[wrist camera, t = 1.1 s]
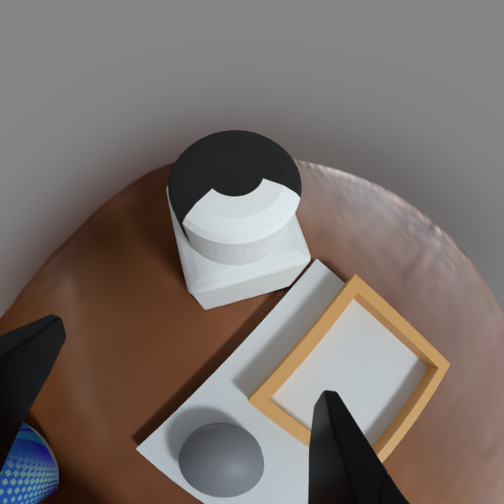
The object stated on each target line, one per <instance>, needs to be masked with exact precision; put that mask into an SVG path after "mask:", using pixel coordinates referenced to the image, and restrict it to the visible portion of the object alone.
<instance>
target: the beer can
mask: <svg viewBox="0 0 504 504" xmlns="http://www.w3.org/2000/svg"><path fill="white" fill-rule="evenodd" d="M58 475H59V469H58V463H57V460H56V457H55V455H54V453H53V451H52V449H51V447H50V446H49V444H48V443H47V442H46V440H45V439H44V438H43V437H42V436H41V435H40V434H39V433H38V432H37V431H36V430H35V429H33V428H32V427H30V426H28V425H27V424H25V423H24V422H23V424H22V426H21V428H20V430H19V432H18V434H17V436H16V438H15V441H14V443H13V445H12V447H11V449H10V452H9V454H8V456H7V459H6V461H5V463H4V466H3V468H2V471H1V473H0V504H38V503H39V502H41V501H42V500H44V499H45V498H47V497H49V496H50V495H52V494H53V493H54V492H55V491H56V490H57V487H58V483H59V476H58Z"/></svg>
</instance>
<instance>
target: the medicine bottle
mask: <svg viewBox="0 0 504 504" xmlns="http://www.w3.org/2000/svg"><path fill="white" fill-rule="evenodd" d="M167 197H168V202H169V207H170V212H171V217H172V222H173V227H174V232H175V237H176V242H177V246H178V251H179V255H180V260H181V264H182V268H183V273H184V277H185V281H186V285H187V289H188V291H189V293H190V294H191V295H192V297H193V298H194V299H195V300H196V301H197V302H198V303H199V305H200V306H201V307H202V308H203V309H211V308H214V307H218V306H222V305H225V304H229V303H233V302H236V301H240V300H243V299H247V298H251V297H254V296H258V295H261V294H265V293H268V292H271V291H275V290H278V289H282V288H285V287H288V286H290V285H291V284H292V282H293V281H294V280H295V279H296V278H297V276H298V275H299V274H300V273H301V272H302V270H303V269H304V268H305V267H306V265H307V264H308V263H309V262H310V260H311V257H310V253H309V250H308V247H307V245H306V242H305V239H304V237H303V234H302V231H301V229H300V226H299V223H298V221H297V218H296V215H295V212H296V209H297V207H298V204H299V201H300V197H301V178H300V174H299V171H298V168H297V166H296V164H295V162H294V160H293V159H292V158H291V156H290V155H289V154H288V153H287V152H286V151H285V150H284V149H283V148H282V147H281V146H280V145H278V144H277V143H275V142H274V141H272V140H270V139H269V138H267V137H264V136H262V135H259V134H256V133H253V132H248V131H240V130H229V131H222V132H218V133H214V134H211V135H208V136H206V137H204V138H202V139H200V140H198V141H196V142H195V143H194V144H192V145H191V146H189V147H188V148H187V149H186V150H185V151H184V152H183V153H182V154H181V155H180V156H179V158H178V159H177V161H176V162H175V164H174V166H173V168H172V170H171V173H170V176H169V182H168V186H167Z"/></svg>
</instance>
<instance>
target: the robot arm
mask: <svg viewBox="0 0 504 504" xmlns="http://www.w3.org/2000/svg"><path fill="white" fill-rule="evenodd" d="M65 339H66V333H65V330H64V326H63V322H62V319H61V318H60V317H58V316H56V315H53V314H51V315H48V316H46V317H43V318H41V319H38V320H36V321H34V322H31V323H29V324H26V325H24V326H22V327H19V328H17V329H15V330H12V331H10V332H8V333H5V334H3V335H1V336H0V473H1V471H2V468H3V466H4V463H5V461H6V459H7V456H8V454H9V452H10V449H11V447H12V445H13V443H14V441H15V438H16V436H17V434H18V432H19V430H20V428H21V426H22V424H23V422H24V420H25V418H26V416H27V414H28V412H29V410H30V408H31V406H32V404H33V403H34V401H35V399H36V397H37V395H38V393H39V392H40V390H41V388H42V386H43V384H44V383H45V381H46V379H47V377H48V376H49V374H50V372H51V370H52V367H53V365H54V363H55V361H56V359H57V357H58V354H59V352H60V350H61V348H62V346H63V344H64V342H65ZM308 504H409V502H408V501H407V500H406V499H405V497H404V496H403V495H402V493H401V492H400V490H399V489H398V487H397V486H396V484H395V483H394V481H393V480H392V478H391V477H390V475H389V474H388V472H387V471H386V469H385V467H384V466H383V464H382V463H381V461H380V459H379V458H378V456H377V455H376V453H375V451H374V450H373V448H372V447H371V445H370V443H369V442H368V440H367V439H366V437H365V435H364V434H363V432H362V431H361V429H360V428H359V426H358V424H357V423H356V421H355V420H354V418H353V416H352V415H351V413H350V412H349V410H348V408H347V407H346V405H345V404H344V402H343V400H342V399H341V397H340V396H339V394H338V393H337V392H336V391H331V390H324V391H323V392H322V394H321V395H320V397H319V399H318V400H317V402H316V403H315V406H314V410H313V419H312V428H311V436H310V444H309V481H308Z"/></svg>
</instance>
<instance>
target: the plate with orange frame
mask: <svg viewBox="0 0 504 504" xmlns="http://www.w3.org/2000/svg"><path fill="white" fill-rule="evenodd" d="M449 366H450V363H449V362H448V361H447V360H446V359H445V358H444V357H443V356H442V355H441V354H440V353H439V352H438V351H437V350H436V349H435V348H434V347H433V346H432V345H431V344H430V343H429V342H428V341H427V340H426V339H425V338H424V337H423V336H422V335H421V334H419V333H418V332H417V331H416V330H415V329H414V328H413V327H412V326H411V325H410V324H409V323H408V322H407V321H406V320H405V319H404V318H403V317H402V316H401V315H400V314H399V313H397V312H396V311H395V310H394V309H393V308H392V307H391V306H390V305H389V304H388V303H387V302H386V301H385V300H384V299H382V298H381V297H380V296H379V295H378V294H377V293H376V292H375V291H374V290H373V289H371V288H370V287H369V286H368V285H367V284H366V283H365V282H364V281H363V280H362V279H360V278H359V277H358V276H357V275H356V274H355V275H353V276H352V277H350V278H349V279H348V280H347V281H346V283H344V282H343V281H342V280H341V279H340V278H338V277H337V276H336V275H335V274H334V273H333V272H332V271H330V270H329V269H328V268H327V267H326V266H325V265H323V264H322V263H321V262H320V261H319V260H318V259H316V260H315V261H314V262H313V264H312V265H311V266H310V267H309V268H308V270H307V271H306V272H305V273H304V274H303V275H302V277H301V278H300V279H299V280H298V281H297V282H296V284H295V285H294V286H293V287H292V288H291V289H290V290H289V292H288V293H287V294H286V295H285V296H284V297H283V298H282V300H281V301H280V302H279V303H278V304H277V305H276V306H275V307H274V309H273V310H272V311H271V312H270V313H269V314H268V315H267V316H266V317H265V319H264V320H263V321H262V322H261V323H260V324H259V325H258V326H257V327H256V329H255V330H254V331H253V332H252V333H251V334H250V335H249V336H248V337H247V338H246V339H245V340H244V342H243V343H242V344H241V345H240V346H239V347H238V348H237V349H236V350H235V351H234V352H233V353H232V354H231V355H230V356H229V357H228V359H227V360H226V361H225V362H224V363H223V364H222V365H221V366H220V367H219V368H218V369H217V370H216V371H215V372H214V373H213V374H212V375H211V376H210V377H209V378H208V379H207V380H206V381H205V382H204V383H203V384H202V385H201V386H200V387H199V388H198V389H197V390H196V391H195V392H194V393H193V394H192V395H191V396H190V397H189V398H188V399H187V400H186V401H185V402H184V403H183V404H182V405H181V406H180V407H179V408H178V409H177V410H176V411H175V412H174V413H173V414H172V415H171V416H170V417H169V418H168V419H167V420H166V421H165V422H164V423H163V424H162V425H161V426H160V427H159V428H158V429H157V430H155V431H154V432H153V433H152V434H151V435H150V436H149V437H148V438H147V439H146V440H145V441H144V442H143V443H142V444H140V445H139V446H138V447H137V448H136V449H137V450H138V451H139V452H140V453H141V454H142V455H143V456H144V457H145V458H146V459H148V460H149V461H150V462H151V463H152V464H153V465H155V466H156V467H157V468H158V469H159V470H160V471H162V472H163V473H164V474H165V475H167V476H168V477H169V478H170V479H172V480H173V481H174V482H175V483H177V484H178V485H179V486H181V487H182V488H183V489H185V490H186V491H187V492H189V493H190V494H192V495H193V496H194V497H196V498H197V499H199V500H200V501H202V502H203V503H204V504H308V481H309V444H310V436H311V428H312V419H313V410H314V406H315V403H316V402H317V400H318V399H319V397H320V395H321V394H322V392H323V391H324V390H331V391H336V392H337V393H338V394H339V396H340V397H341V399H342V400H343V402H344V404H345V405H346V407H347V408H348V410H349V412H350V413H351V415H352V416H353V418H354V420H355V421H356V423H357V424H358V426H359V428H360V429H361V431H362V432H363V434H364V435H365V437H366V439H367V440H368V442H369V443H370V445H371V447H372V448H373V450H374V451H375V453H376V455H377V456H378V458H379V459H380V461H381V463H383V461H384V460H385V459H386V458H387V457H388V455H389V454H390V453H391V452H392V451H393V449H394V448H395V447H396V446H397V444H398V443H399V442H400V441H401V439H402V438H403V437H404V435H405V434H406V433H407V431H408V430H409V429H410V427H411V426H412V424H413V423H414V422H415V420H416V419H417V417H418V416H419V414H420V413H421V412H422V410H423V409H424V407H425V406H426V404H427V403H428V401H429V399H430V398H431V396H432V395H433V393H434V391H435V390H436V388H437V387H438V385H439V383H440V382H441V380H442V378H443V376H444V375H445V373H446V371H447V369H448V368H449Z"/></svg>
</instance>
